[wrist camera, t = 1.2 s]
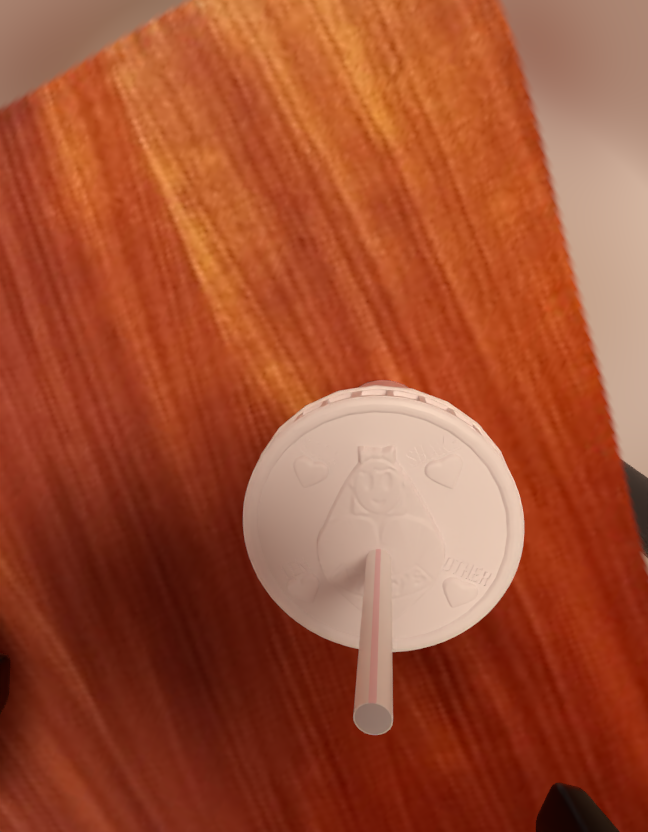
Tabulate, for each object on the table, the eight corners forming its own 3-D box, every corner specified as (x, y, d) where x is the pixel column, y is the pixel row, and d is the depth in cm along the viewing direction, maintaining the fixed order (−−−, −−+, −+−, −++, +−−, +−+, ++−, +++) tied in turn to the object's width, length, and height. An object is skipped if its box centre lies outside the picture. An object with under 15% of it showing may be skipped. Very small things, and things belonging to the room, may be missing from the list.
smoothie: (311, 495, 21) (178, 841, 8) (301, 349, 20) (115, 464, 6) (461, 495, 20) (604, 885, 7) (463, 342, 19) (651, 459, 5)
